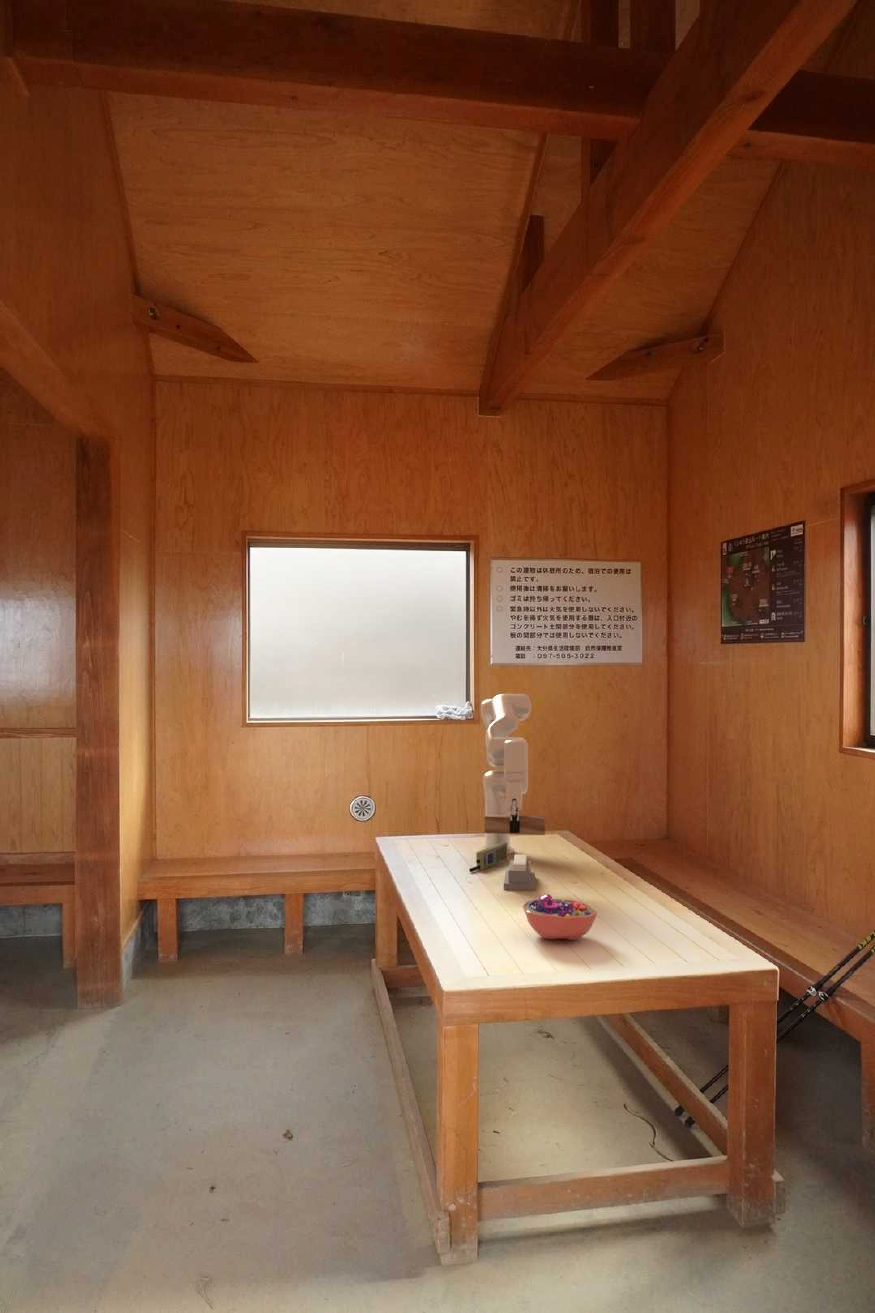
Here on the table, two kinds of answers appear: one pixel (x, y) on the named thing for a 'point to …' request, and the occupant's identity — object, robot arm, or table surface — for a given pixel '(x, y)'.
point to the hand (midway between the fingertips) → (515, 830)
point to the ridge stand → (519, 875)
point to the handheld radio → (490, 856)
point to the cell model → (559, 917)
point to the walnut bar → (527, 824)
